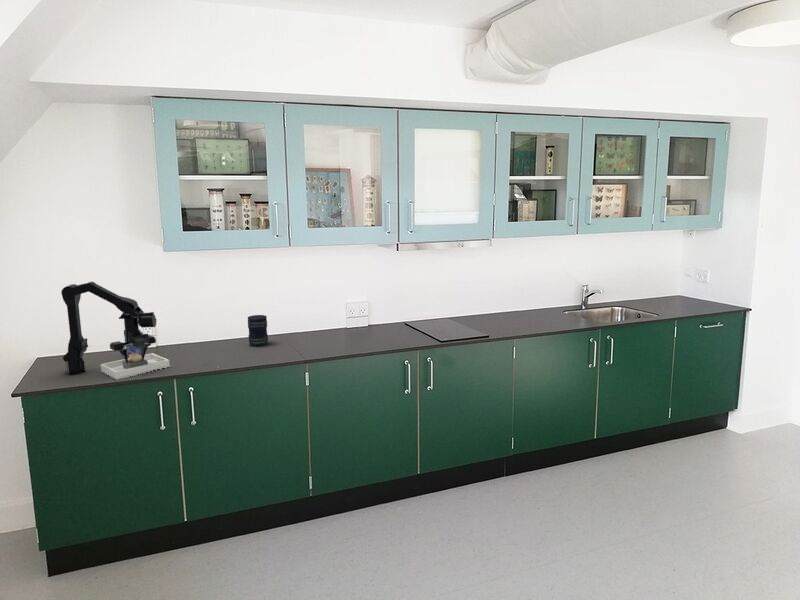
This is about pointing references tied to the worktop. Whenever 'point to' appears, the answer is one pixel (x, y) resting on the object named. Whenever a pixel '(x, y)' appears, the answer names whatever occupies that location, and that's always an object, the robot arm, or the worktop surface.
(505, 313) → the worktop surface
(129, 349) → the ink cartridge box
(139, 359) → the peg
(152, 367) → the walled box
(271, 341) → the worktop surface
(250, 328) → the storage jar
